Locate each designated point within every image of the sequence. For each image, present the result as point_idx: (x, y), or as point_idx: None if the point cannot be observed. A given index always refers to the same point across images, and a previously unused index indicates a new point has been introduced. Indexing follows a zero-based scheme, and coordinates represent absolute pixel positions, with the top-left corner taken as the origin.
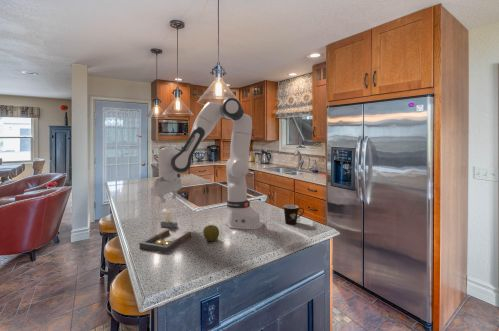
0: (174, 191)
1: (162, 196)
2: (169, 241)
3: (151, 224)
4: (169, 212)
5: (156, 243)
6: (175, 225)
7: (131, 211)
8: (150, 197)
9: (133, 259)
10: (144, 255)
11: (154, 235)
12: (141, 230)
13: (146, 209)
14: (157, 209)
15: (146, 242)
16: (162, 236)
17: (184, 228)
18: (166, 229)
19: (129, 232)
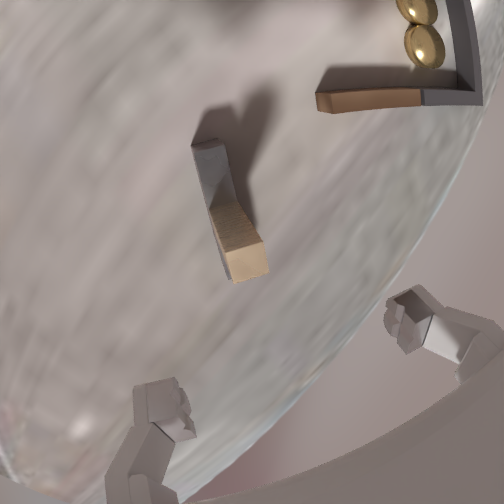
0: (162, 497)
1: (498, 327)
2: (413, 2)
3: (248, 319)
4: (253, 242)
5: (442, 52)
6: (219, 142)
7: (191, 462)
8: (81, 496)
9: (500, 62)
10: (482, 45)
11: (426, 103)
12: (337, 275)
13: None
14: (104, 443)
15: (464, 90)
16: (375, 88)
17: (176, 84)
18: (340, 109)
19: (372, 288)
